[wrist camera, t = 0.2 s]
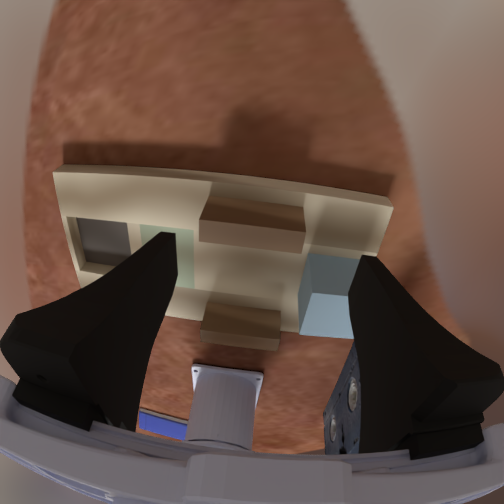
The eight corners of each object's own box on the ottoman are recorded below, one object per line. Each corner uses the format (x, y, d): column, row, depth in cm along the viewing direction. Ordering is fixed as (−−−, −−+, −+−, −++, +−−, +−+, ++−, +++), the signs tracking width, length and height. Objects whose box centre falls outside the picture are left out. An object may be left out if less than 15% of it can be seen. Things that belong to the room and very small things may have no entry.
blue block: (346, 299, 25) (353, 338, 21) (297, 294, 25) (298, 334, 21) (361, 259, 22) (373, 298, 19) (308, 253, 22) (312, 292, 19)
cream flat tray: (340, 323, 29) (346, 363, 25) (91, 289, 29) (72, 323, 25) (387, 197, 21) (408, 232, 17) (63, 164, 21) (29, 190, 17)
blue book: (215, 433, 44) (138, 413, 43) (207, 446, 49) (139, 429, 48) (217, 424, 46) (141, 404, 44) (208, 439, 51) (141, 421, 49)
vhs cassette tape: (339, 412, 40) (343, 476, 32) (319, 412, 40) (321, 477, 32) (385, 330, 29) (405, 420, 21) (357, 330, 29) (372, 423, 21)
